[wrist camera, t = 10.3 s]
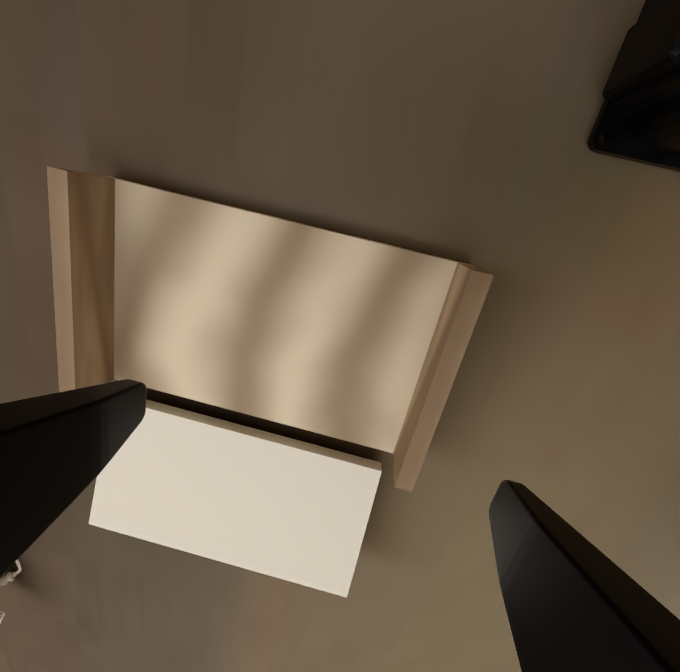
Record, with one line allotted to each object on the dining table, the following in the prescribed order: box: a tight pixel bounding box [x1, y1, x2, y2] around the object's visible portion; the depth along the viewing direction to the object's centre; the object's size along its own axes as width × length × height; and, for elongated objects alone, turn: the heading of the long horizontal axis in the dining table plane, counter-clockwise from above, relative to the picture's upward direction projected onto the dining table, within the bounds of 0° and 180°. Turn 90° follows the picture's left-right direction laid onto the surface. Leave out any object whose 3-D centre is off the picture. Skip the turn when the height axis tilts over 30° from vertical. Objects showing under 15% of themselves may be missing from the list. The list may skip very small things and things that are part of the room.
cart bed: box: [47, 166, 494, 492], centre depth 19 cm, size 21×12×4 cm, turn 77°
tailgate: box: [89, 400, 382, 597], centre depth 23 cm, size 18×2×9 cm
